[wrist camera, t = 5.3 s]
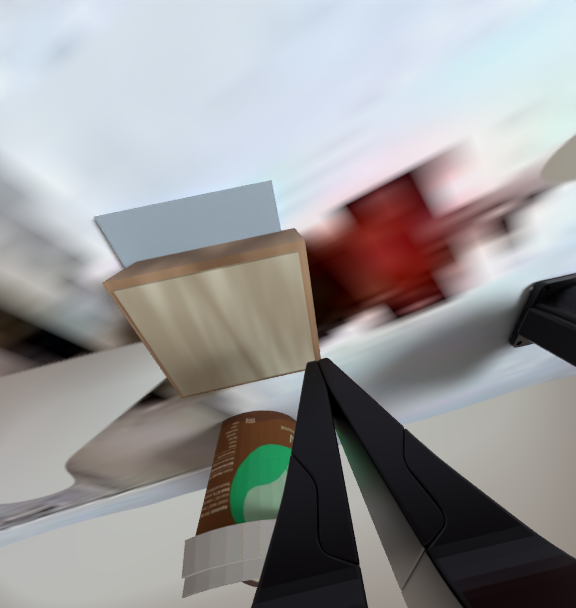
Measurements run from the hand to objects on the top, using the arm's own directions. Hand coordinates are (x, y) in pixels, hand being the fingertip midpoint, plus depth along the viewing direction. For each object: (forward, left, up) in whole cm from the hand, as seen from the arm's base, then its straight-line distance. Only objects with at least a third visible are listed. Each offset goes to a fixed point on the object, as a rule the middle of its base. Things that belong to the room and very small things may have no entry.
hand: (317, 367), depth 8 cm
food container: (+4, +15, -7) cm, 17 cm away
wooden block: (-1, 0, -5) cm, 5 cm away
